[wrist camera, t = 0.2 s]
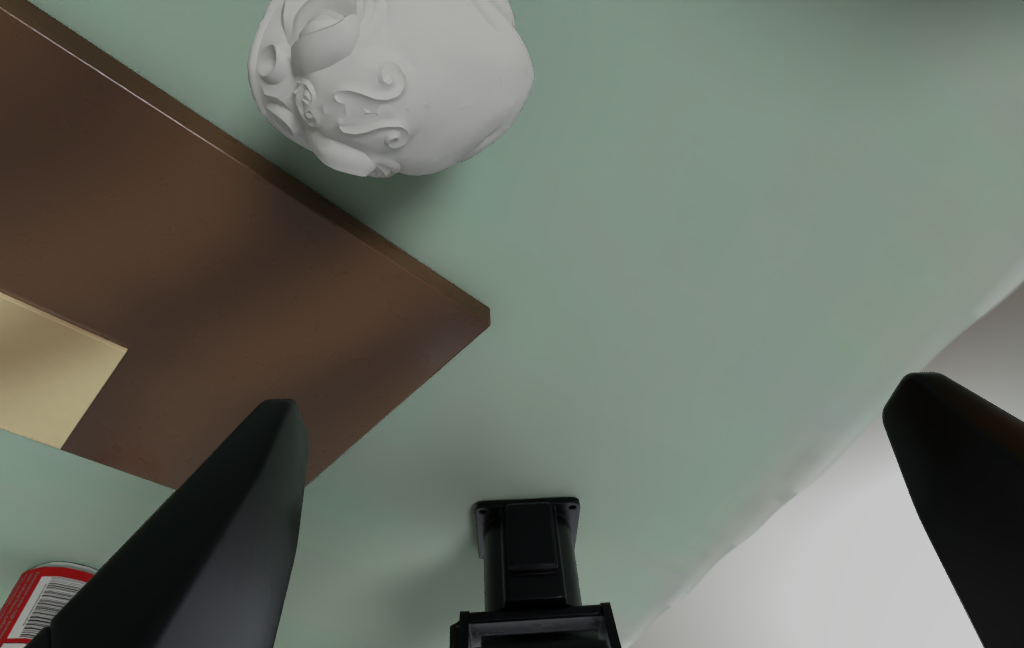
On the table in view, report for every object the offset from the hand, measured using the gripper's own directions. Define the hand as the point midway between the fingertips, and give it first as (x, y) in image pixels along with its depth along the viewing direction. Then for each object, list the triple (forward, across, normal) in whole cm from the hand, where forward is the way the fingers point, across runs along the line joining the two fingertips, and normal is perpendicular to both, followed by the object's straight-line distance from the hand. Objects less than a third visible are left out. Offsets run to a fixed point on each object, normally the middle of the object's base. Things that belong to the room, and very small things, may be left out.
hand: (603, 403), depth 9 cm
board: (+14, +16, +10) cm, 24 cm away
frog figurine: (+15, +4, -2) cm, 15 cm away
